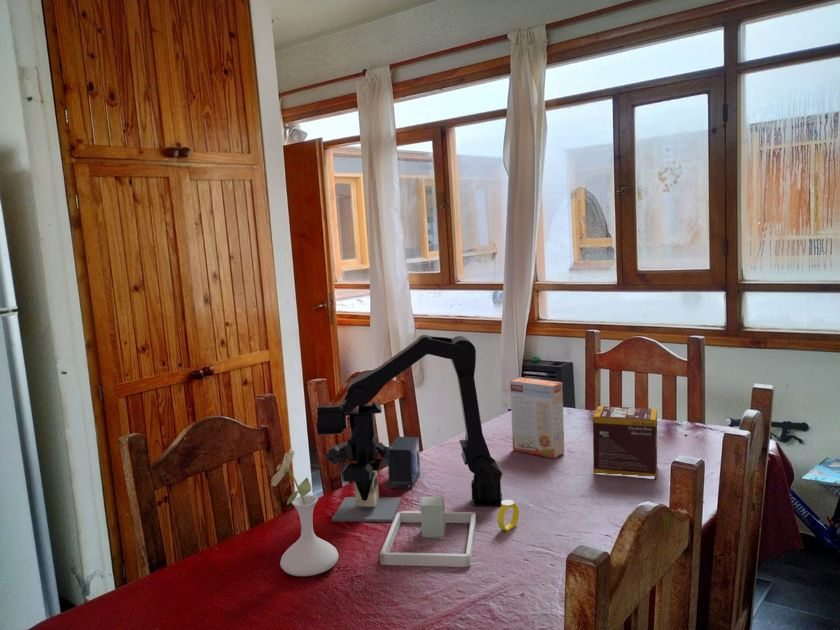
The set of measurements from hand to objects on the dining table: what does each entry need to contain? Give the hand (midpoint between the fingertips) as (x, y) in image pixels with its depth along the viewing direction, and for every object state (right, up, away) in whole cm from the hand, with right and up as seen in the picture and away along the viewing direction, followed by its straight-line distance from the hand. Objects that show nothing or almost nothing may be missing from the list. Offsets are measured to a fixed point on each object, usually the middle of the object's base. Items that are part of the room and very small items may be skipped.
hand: (367, 496), depth 152 cm
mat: (0, -3, 0) cm, 4 cm away
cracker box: (+46, +3, +34) cm, 57 cm away
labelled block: (0, -2, 0) cm, 2 cm away
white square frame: (+15, -5, -17) cm, 23 cm away
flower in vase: (-10, -8, -25) cm, 28 cm away
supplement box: (+66, +2, +17) cm, 68 cm away
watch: (+32, -4, -12) cm, 34 cm away
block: (+15, -4, -12) cm, 20 cm away
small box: (+9, -1, +17) cm, 19 cm away
